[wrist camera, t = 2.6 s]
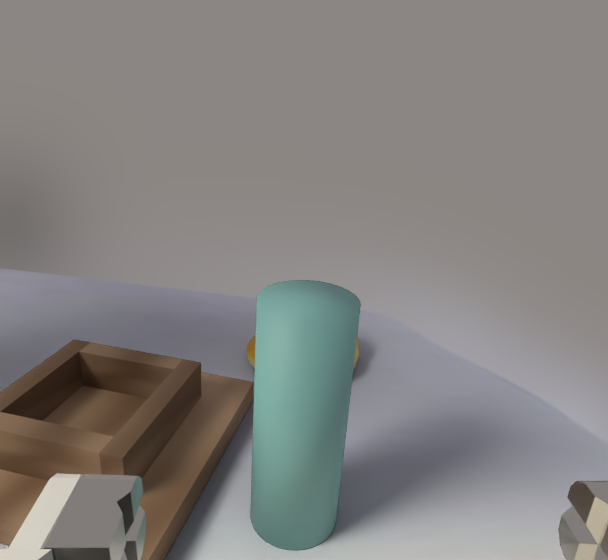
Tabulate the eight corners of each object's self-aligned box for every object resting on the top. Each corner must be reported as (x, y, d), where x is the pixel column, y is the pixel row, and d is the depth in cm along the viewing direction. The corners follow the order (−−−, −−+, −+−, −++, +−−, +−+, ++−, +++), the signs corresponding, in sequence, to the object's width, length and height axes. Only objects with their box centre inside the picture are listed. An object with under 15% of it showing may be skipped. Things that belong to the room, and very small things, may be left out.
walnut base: (-115, 511, 25) (-137, 445, 23) (70, 365, 37) (64, 316, 36) (150, 584, 22) (145, 514, 21) (252, 400, 35) (254, 349, 33)
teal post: (237, 537, 25) (242, 313, 20) (265, 474, 29) (273, 274, 24) (327, 560, 24) (353, 330, 19) (342, 491, 28) (366, 288, 23)
